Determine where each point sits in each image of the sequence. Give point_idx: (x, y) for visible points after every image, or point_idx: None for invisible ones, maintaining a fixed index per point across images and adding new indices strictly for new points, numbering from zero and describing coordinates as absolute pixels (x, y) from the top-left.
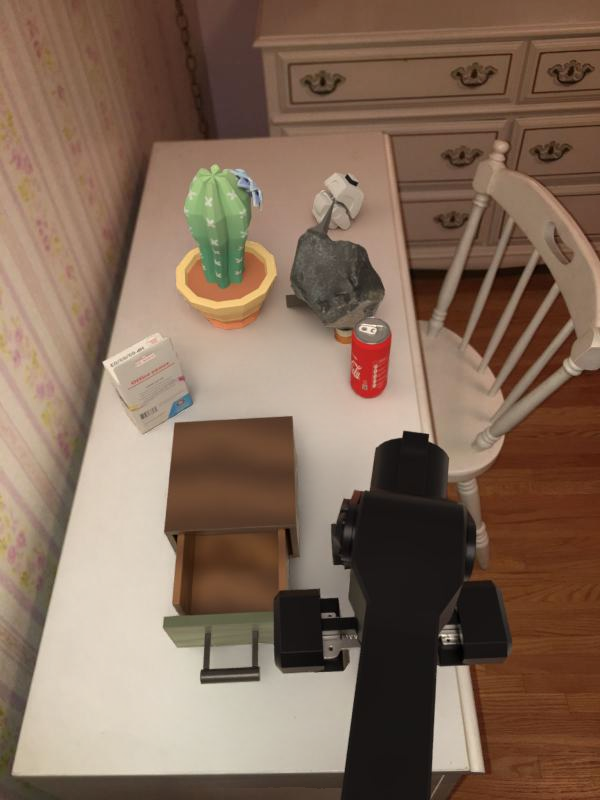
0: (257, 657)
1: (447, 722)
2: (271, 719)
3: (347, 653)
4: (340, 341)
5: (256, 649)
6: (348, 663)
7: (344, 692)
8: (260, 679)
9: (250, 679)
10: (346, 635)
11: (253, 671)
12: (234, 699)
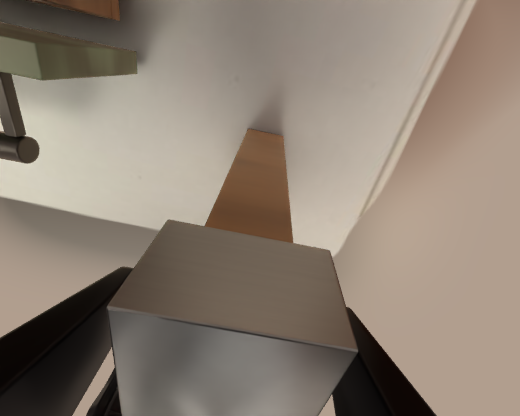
0: (11, 120)
1: (333, 228)
2: (107, 172)
3: (65, 397)
4: None
5: (5, 103)
6: (80, 399)
7: (211, 165)
8: (37, 156)
9: (7, 159)
10: (64, 341)
11: (4, 150)
12: (50, 135)
